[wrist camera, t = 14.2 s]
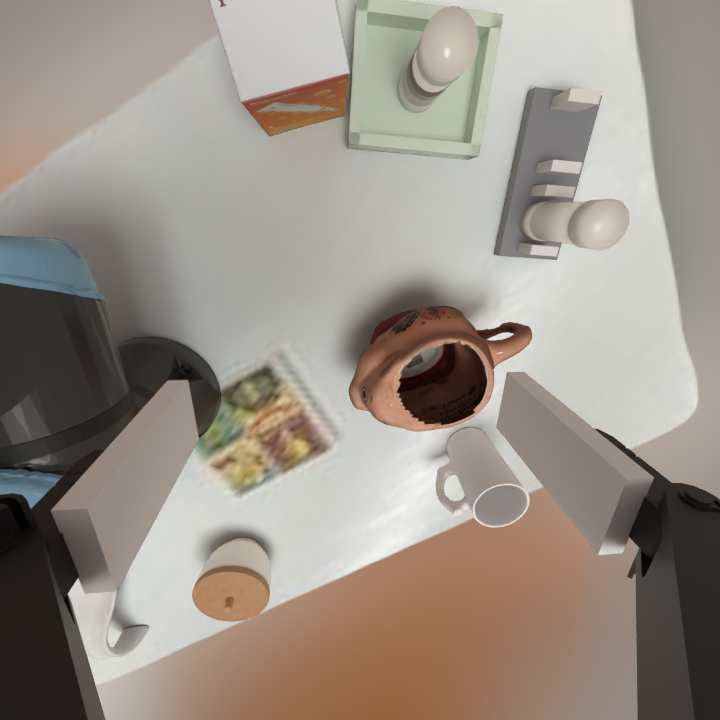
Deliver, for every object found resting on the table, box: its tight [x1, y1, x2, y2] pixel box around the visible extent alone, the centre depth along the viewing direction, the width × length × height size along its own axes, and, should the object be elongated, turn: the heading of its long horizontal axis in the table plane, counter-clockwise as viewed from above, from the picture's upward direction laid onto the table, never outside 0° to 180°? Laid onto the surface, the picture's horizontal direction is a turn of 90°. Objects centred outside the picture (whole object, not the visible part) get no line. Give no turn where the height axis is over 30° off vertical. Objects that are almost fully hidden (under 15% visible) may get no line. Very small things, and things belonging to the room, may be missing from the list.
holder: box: [494, 88, 629, 260], centre depth 34 cm, size 7×16×12 cm, turn 176°
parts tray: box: [348, 0, 504, 160], centre depth 35 cm, size 13×11×3 cm
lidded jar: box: [192, 537, 271, 621], centre depth 55 cm, size 11×11×9 cm
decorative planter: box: [349, 306, 532, 432], centre depth 40 cm, size 20×12×14 cm, turn 119°
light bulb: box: [397, 6, 478, 113], centre depth 31 cm, size 4×4×11 cm
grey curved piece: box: [68, 579, 149, 660], centre depth 57 cm, size 24×12×7 cm, turn 12°
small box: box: [208, 0, 350, 136], centre depth 30 cm, size 8×6×13 cm
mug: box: [436, 428, 529, 527], centre depth 48 cm, size 10×7×12 cm
